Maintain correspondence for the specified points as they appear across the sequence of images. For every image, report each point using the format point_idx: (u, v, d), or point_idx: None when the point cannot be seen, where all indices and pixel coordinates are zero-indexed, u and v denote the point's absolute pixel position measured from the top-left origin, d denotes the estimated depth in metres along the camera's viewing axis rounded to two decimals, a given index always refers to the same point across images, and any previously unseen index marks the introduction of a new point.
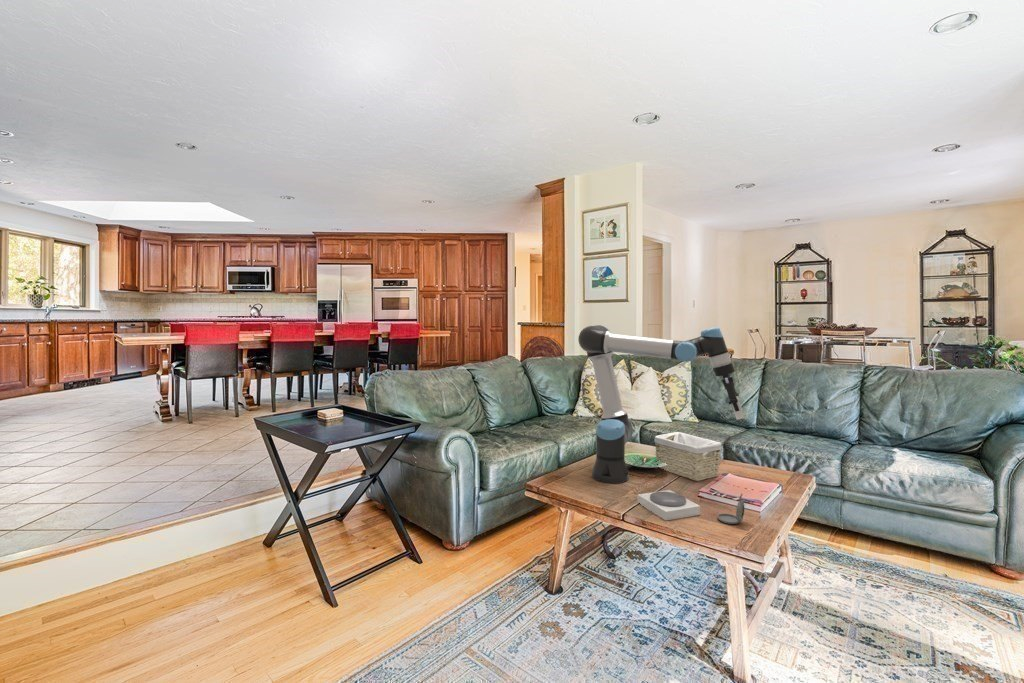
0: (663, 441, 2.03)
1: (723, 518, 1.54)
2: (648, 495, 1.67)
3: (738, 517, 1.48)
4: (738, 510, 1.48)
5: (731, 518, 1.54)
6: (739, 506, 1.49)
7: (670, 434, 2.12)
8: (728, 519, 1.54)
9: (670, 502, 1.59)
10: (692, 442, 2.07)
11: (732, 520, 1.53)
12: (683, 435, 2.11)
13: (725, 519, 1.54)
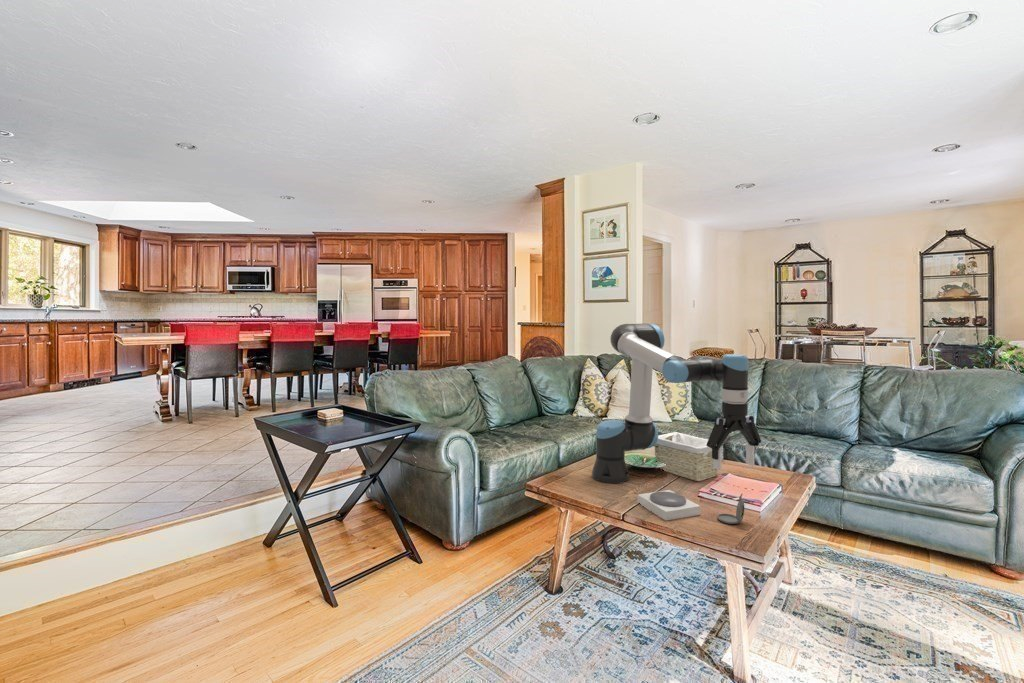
0: (663, 441, 2.02)
1: (723, 518, 1.54)
2: (648, 495, 1.67)
3: (738, 517, 1.48)
4: (738, 510, 1.48)
5: (731, 518, 1.54)
6: (739, 506, 1.49)
7: (668, 434, 2.11)
8: (728, 519, 1.54)
9: (670, 502, 1.59)
10: (690, 442, 2.06)
11: (732, 520, 1.53)
12: (681, 435, 2.11)
13: (725, 519, 1.54)
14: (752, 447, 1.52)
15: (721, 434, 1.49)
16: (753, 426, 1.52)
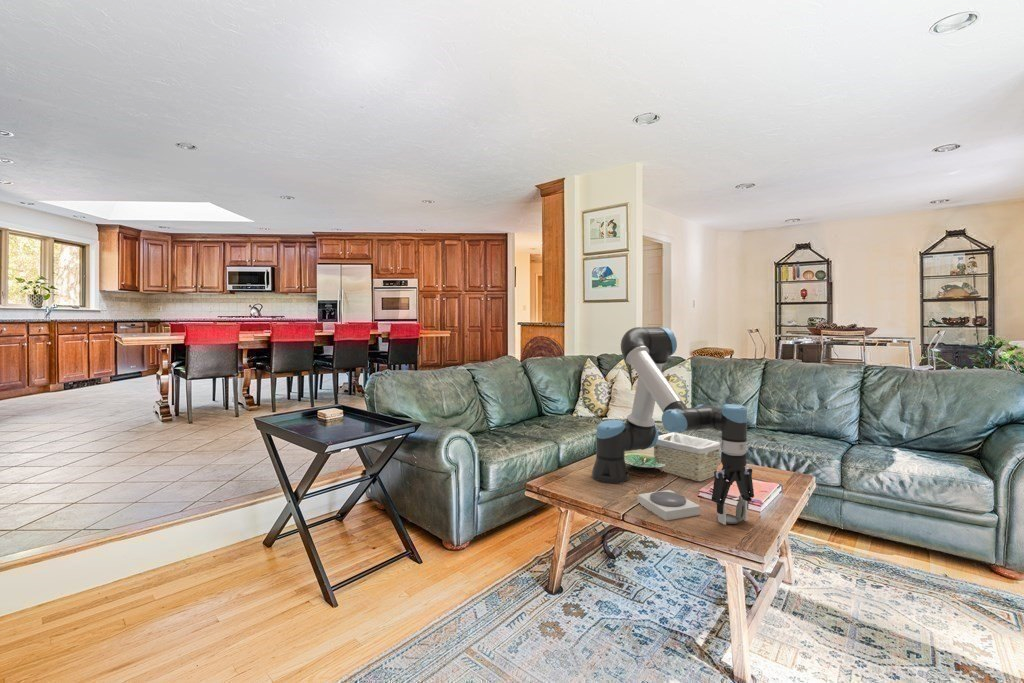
0: (663, 442, 2.01)
1: None
2: (648, 495, 1.67)
3: (738, 517, 1.48)
4: (738, 510, 1.48)
5: (731, 518, 1.54)
6: (739, 506, 1.49)
7: (666, 435, 2.10)
8: (728, 519, 1.54)
9: (670, 502, 1.59)
10: (689, 442, 2.06)
11: (732, 520, 1.53)
12: (679, 435, 2.10)
13: None
14: (745, 502, 1.52)
15: (723, 487, 1.51)
16: (750, 479, 1.53)
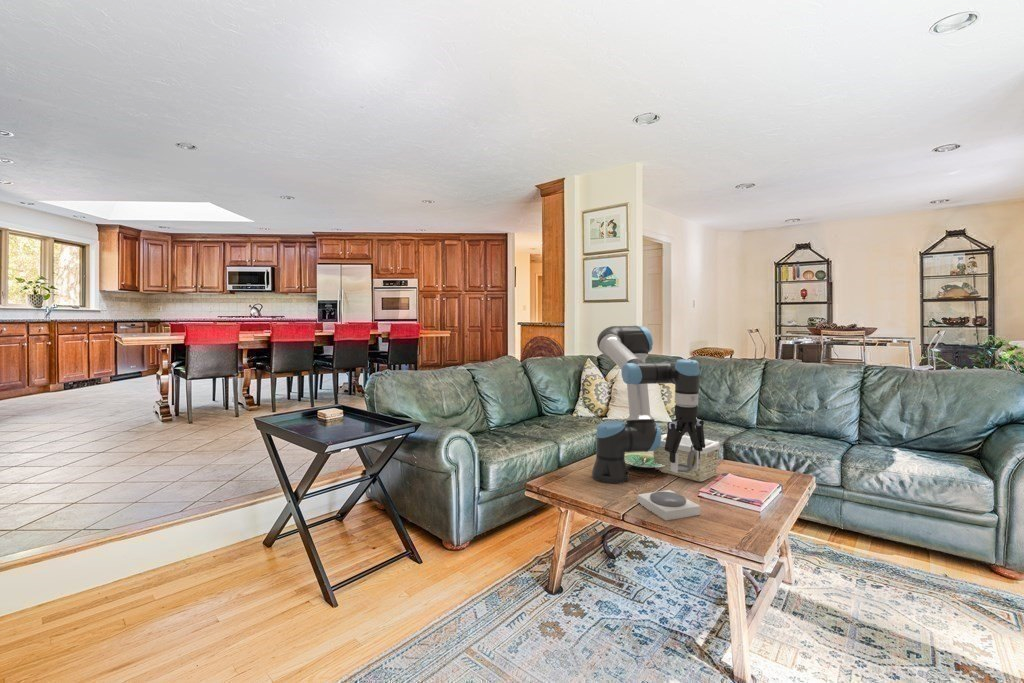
0: (663, 443, 2.00)
1: None
2: (648, 495, 1.67)
3: (689, 465, 1.56)
4: (689, 458, 1.56)
5: (683, 467, 1.62)
6: (690, 455, 1.57)
7: (665, 435, 2.10)
8: (680, 468, 1.62)
9: (670, 502, 1.59)
10: (687, 442, 2.06)
11: (684, 469, 1.61)
12: None
13: None
14: (696, 452, 1.60)
15: (675, 438, 1.58)
16: (701, 430, 1.60)
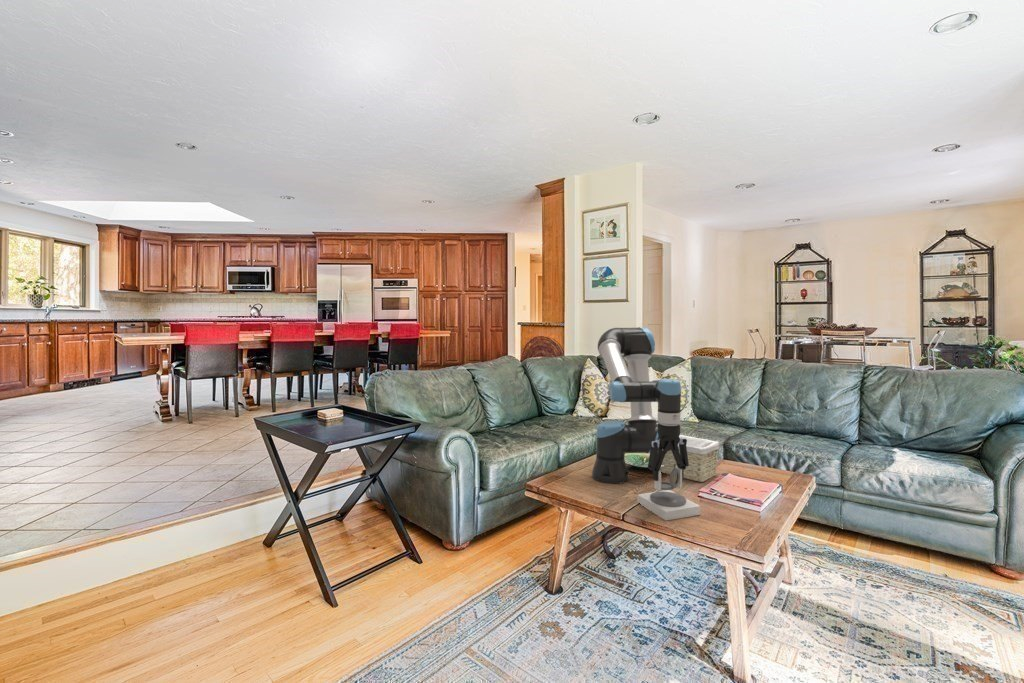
0: None
1: None
2: (648, 495, 1.67)
3: (671, 483, 1.59)
4: (671, 477, 1.59)
5: (667, 485, 1.65)
6: (672, 473, 1.59)
7: None
8: (664, 486, 1.64)
9: (670, 502, 1.59)
10: None
11: (668, 487, 1.63)
12: None
13: (661, 486, 1.64)
14: (680, 470, 1.63)
15: (658, 456, 1.61)
16: (684, 449, 1.63)
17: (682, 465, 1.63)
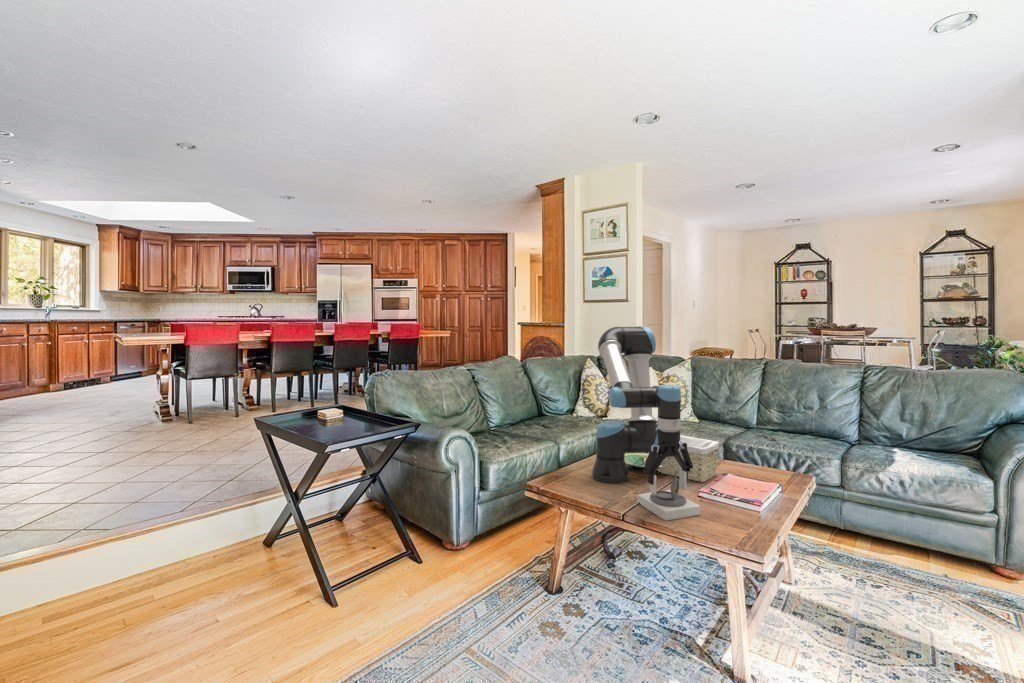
0: None
1: (660, 495, 1.65)
2: (648, 495, 1.67)
3: (672, 493, 1.59)
4: (672, 486, 1.59)
5: (667, 494, 1.65)
6: (673, 482, 1.60)
7: None
8: (664, 495, 1.64)
9: (670, 502, 1.59)
10: (686, 442, 2.06)
11: (668, 496, 1.64)
12: None
13: (662, 495, 1.64)
14: (684, 472, 1.64)
15: (656, 460, 1.61)
16: (686, 452, 1.63)
17: (686, 468, 1.64)
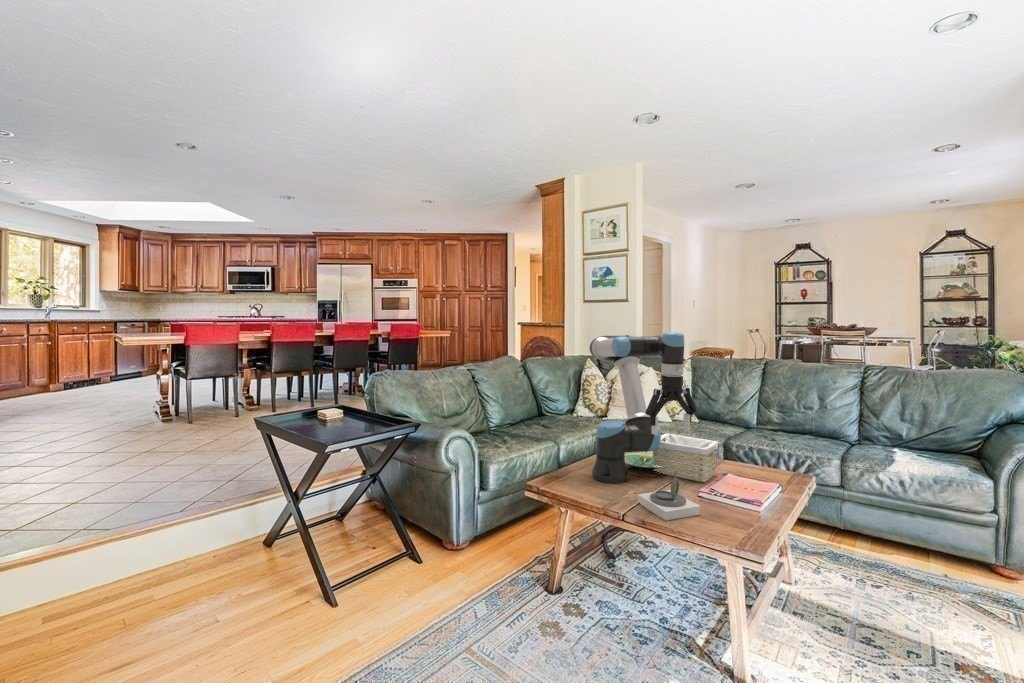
0: (664, 444, 1.97)
1: (660, 495, 1.65)
2: (648, 495, 1.67)
3: (672, 493, 1.59)
4: (672, 486, 1.59)
5: (667, 494, 1.65)
6: (673, 482, 1.60)
7: (662, 436, 2.08)
8: (664, 495, 1.64)
9: (670, 502, 1.59)
10: (685, 442, 2.05)
11: (668, 496, 1.64)
12: (674, 436, 2.09)
13: (662, 495, 1.64)
14: (688, 416, 1.70)
15: (659, 403, 1.67)
16: (689, 397, 1.69)
17: (690, 411, 1.70)
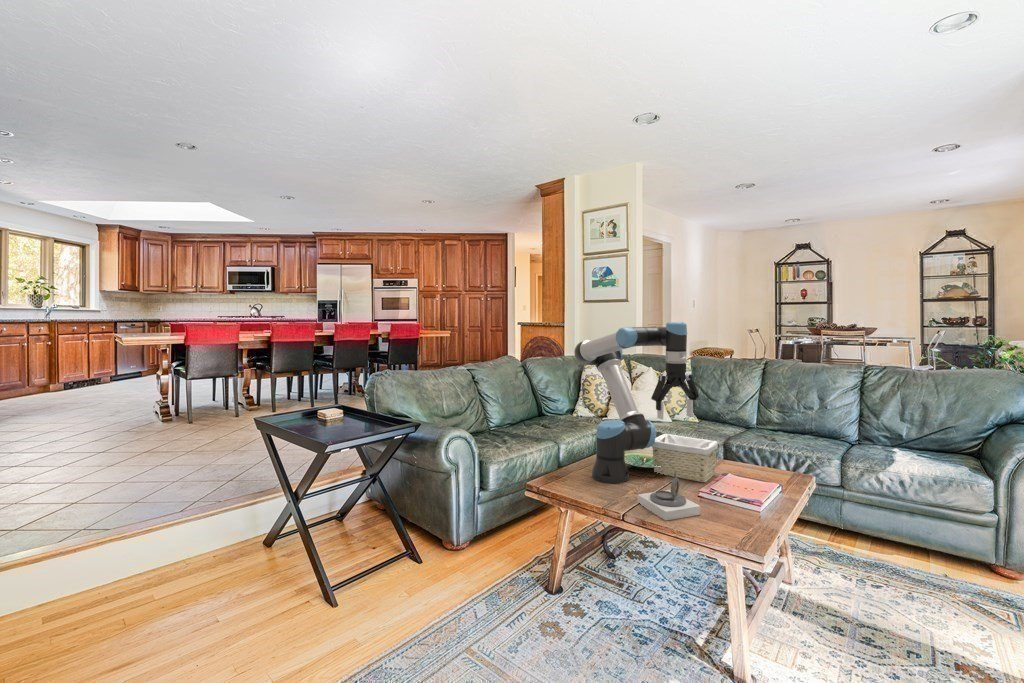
0: (664, 445, 1.97)
1: (660, 495, 1.65)
2: (648, 495, 1.67)
3: (672, 493, 1.59)
4: (672, 486, 1.59)
5: (667, 494, 1.65)
6: (673, 482, 1.60)
7: (661, 437, 2.07)
8: (664, 495, 1.64)
9: (670, 502, 1.59)
10: (684, 442, 2.05)
11: (668, 496, 1.64)
12: (673, 436, 2.08)
13: (662, 495, 1.64)
14: (691, 401, 1.79)
15: (664, 389, 1.76)
16: (692, 383, 1.79)
17: (693, 396, 1.79)
